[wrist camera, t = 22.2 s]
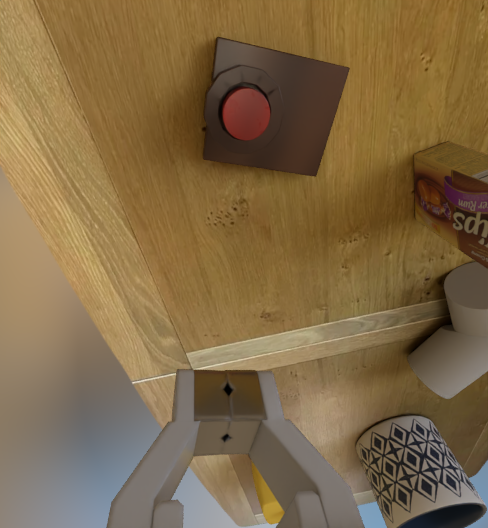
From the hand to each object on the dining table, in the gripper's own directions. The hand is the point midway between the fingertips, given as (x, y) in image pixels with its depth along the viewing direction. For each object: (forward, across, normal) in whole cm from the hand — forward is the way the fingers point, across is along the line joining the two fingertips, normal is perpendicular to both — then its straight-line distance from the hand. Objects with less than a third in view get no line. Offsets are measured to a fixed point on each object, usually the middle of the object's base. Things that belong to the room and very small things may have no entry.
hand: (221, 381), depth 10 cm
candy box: (+27, -27, -1) cm, 38 cm away
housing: (+27, -6, -5) cm, 28 cm away
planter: (+27, -50, +56) cm, 80 cm away
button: (+24, -3, -5) cm, 25 cm away
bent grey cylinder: (+27, -42, +20) cm, 54 cm away
